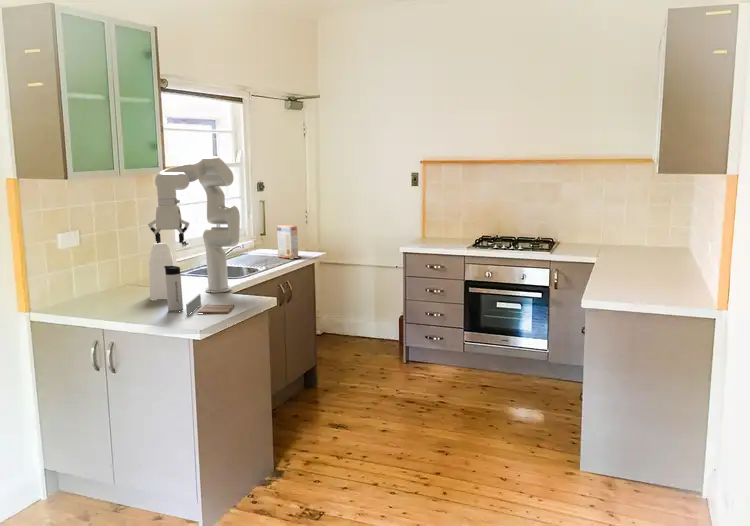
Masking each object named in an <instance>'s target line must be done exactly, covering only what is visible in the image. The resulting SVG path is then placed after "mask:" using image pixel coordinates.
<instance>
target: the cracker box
mask: <svg viewBox="0 0 750 526" xmlns="http://www.w3.org/2000/svg"><path fill="white" fill-rule="evenodd" d="M276 229H277V230H276V231H277V233H276V234H277V251H278V252H277V256H278V258H279V257H282V258H281V259H284V258H295V257H298V258H299V245H298V244H299V243H298V242H299V241H298V239H299V238H298V226H296V225H288V224H280V225H277V226H276Z"/></svg>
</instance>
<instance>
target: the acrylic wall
mask: <svg viewBox="0 0 750 526" xmlns="http://www.w3.org/2000/svg"><path fill="white" fill-rule="evenodd" d="M201 296H202V295H201V293H198V294H197V295H196V296H195V297H194V298H192V299H191V300H189V301H188V302H186V304H185V307H186V316H187V315H189V314H190V313H191V312H193V311H194V310H195V309H196V308H197V307H198V306H199V307H201V306H202V300H201V299H202V297H201ZM199 307H198V308H199ZM198 308H197V309H198ZM197 309H196V310H197ZM196 310H195V311H196ZM195 311H194V312H195ZM194 312H193V313H194ZM191 314H192V313H191ZM191 314H190V315H191ZM190 315H189V316H190Z"/></svg>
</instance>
